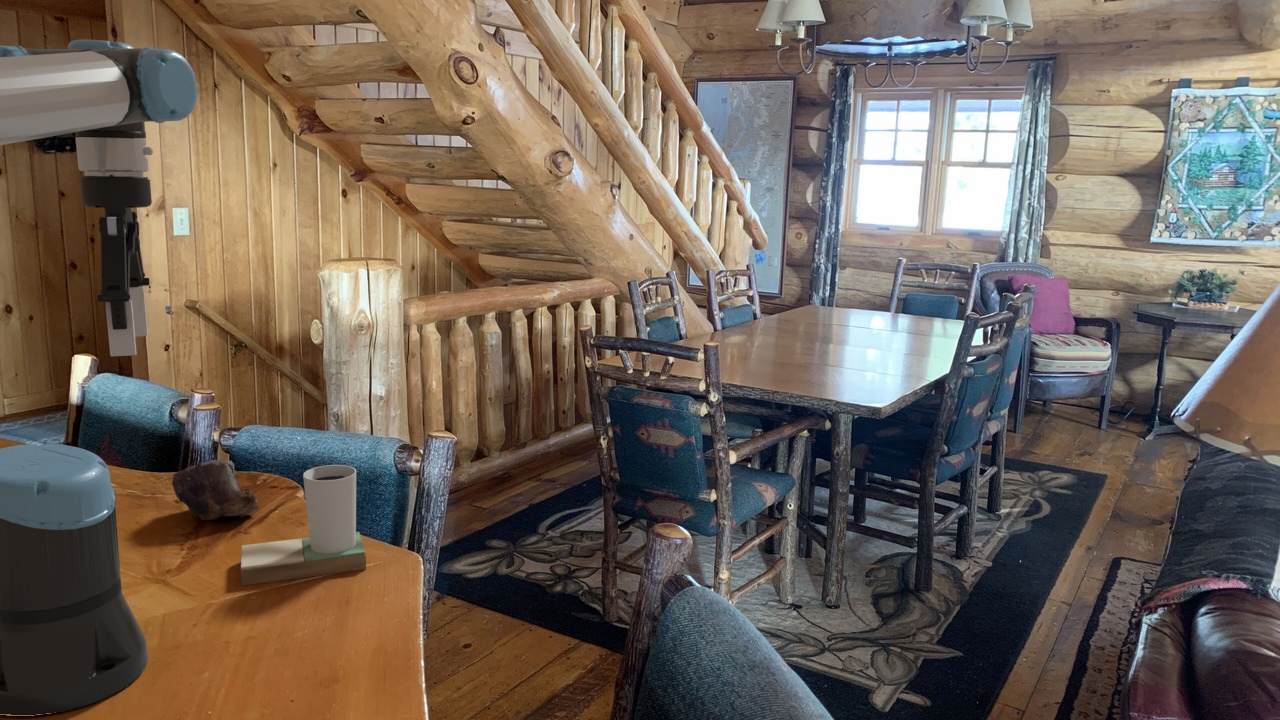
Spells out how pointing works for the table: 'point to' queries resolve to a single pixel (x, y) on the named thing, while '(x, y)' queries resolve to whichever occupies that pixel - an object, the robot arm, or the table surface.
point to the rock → (213, 491)
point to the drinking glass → (331, 507)
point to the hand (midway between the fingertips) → (130, 345)
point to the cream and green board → (296, 561)
